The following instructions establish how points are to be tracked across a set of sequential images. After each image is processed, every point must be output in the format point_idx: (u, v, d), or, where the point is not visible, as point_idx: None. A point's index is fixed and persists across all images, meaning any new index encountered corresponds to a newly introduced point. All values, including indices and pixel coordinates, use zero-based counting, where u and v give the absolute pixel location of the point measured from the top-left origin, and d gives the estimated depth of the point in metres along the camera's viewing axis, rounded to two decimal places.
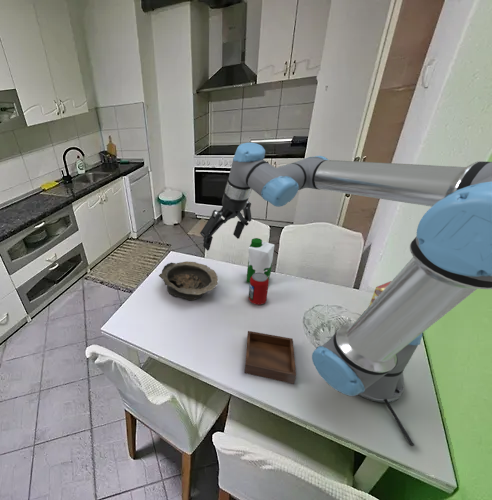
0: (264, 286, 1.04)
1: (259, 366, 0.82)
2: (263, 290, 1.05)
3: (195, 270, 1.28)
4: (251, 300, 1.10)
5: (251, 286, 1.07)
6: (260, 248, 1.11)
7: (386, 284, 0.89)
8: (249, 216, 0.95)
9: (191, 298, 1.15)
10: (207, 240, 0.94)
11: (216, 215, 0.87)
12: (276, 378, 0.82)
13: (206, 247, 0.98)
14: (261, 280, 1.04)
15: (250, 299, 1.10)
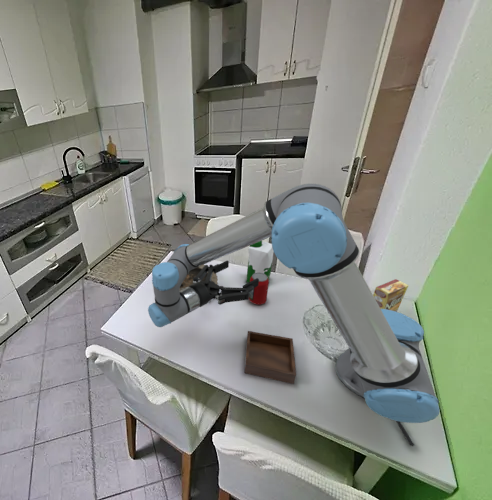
0: (264, 286, 1.04)
1: (259, 366, 0.82)
2: (263, 290, 1.05)
3: (195, 270, 1.28)
4: (251, 300, 1.10)
5: None
6: (260, 248, 1.11)
7: (386, 284, 0.89)
8: (203, 269, 0.99)
9: None
10: (249, 287, 0.88)
11: (221, 299, 0.85)
12: (276, 378, 0.82)
13: (256, 282, 0.90)
14: (261, 280, 1.04)
15: (250, 299, 1.10)
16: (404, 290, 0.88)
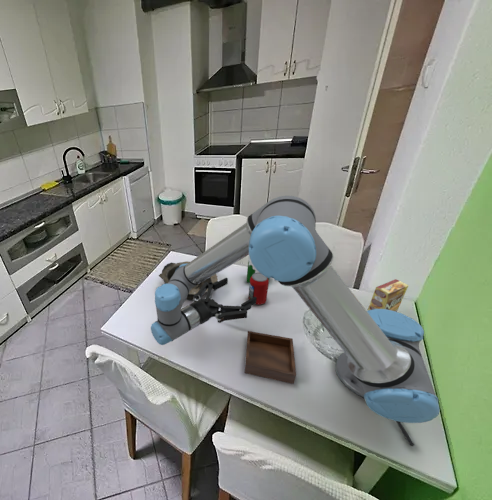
0: (264, 285, 1.04)
1: (259, 366, 0.82)
2: (263, 290, 1.05)
3: None
4: None
5: (251, 286, 1.07)
6: None
7: (386, 284, 0.89)
8: (203, 286, 1.03)
9: (191, 298, 1.15)
10: (247, 305, 0.92)
11: (220, 318, 0.89)
12: (276, 378, 0.82)
13: (254, 300, 0.94)
14: (261, 280, 1.04)
15: None
16: (404, 290, 0.88)
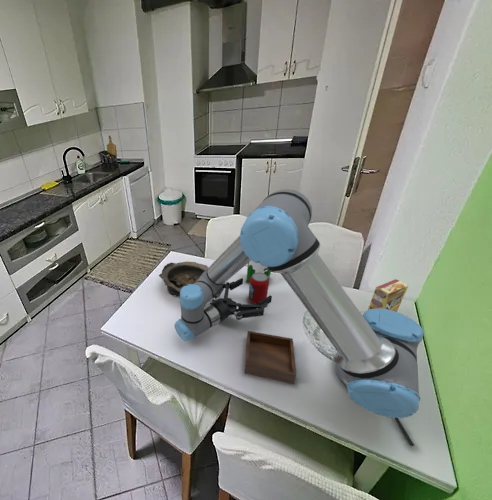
0: (264, 286, 1.04)
1: (259, 366, 0.82)
2: (263, 290, 1.05)
3: (195, 270, 1.28)
4: (251, 300, 1.10)
5: (251, 286, 1.07)
6: None
7: (386, 284, 0.89)
8: (221, 286, 1.09)
9: None
10: (263, 304, 0.99)
11: (239, 315, 0.96)
12: (276, 378, 0.82)
13: (270, 299, 1.01)
14: (261, 280, 1.04)
15: (250, 299, 1.10)
16: (404, 290, 0.88)
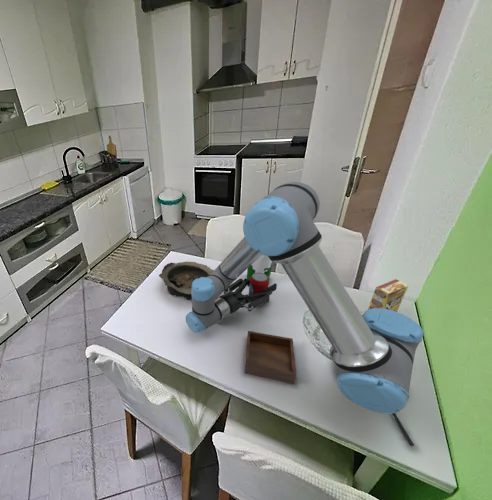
0: (264, 286, 1.04)
1: (259, 366, 0.82)
2: None
3: (195, 270, 1.28)
4: None
5: (251, 286, 1.07)
6: None
7: (386, 284, 0.89)
8: (237, 282, 1.10)
9: (191, 298, 1.15)
10: (269, 291, 1.04)
11: (251, 306, 0.99)
12: (276, 378, 0.82)
13: (275, 286, 1.06)
14: (261, 280, 1.04)
15: None
16: (404, 290, 0.88)
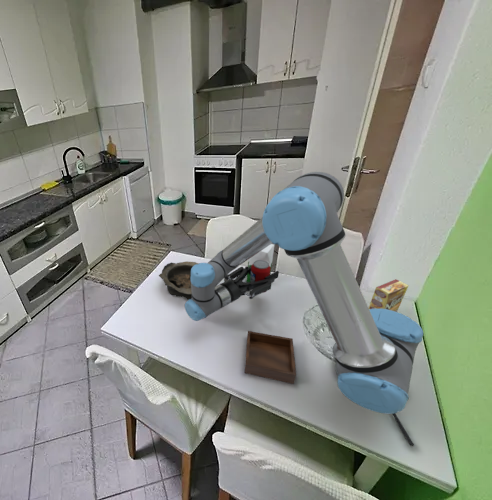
0: (265, 273, 1.01)
1: (259, 366, 0.82)
2: None
3: None
4: None
5: (252, 274, 1.04)
6: None
7: (386, 284, 0.89)
8: (237, 270, 1.07)
9: (191, 298, 1.15)
10: (271, 278, 1.01)
11: (253, 294, 0.96)
12: (276, 378, 0.82)
13: (277, 274, 1.03)
14: (263, 267, 1.01)
15: None
16: (404, 290, 0.88)
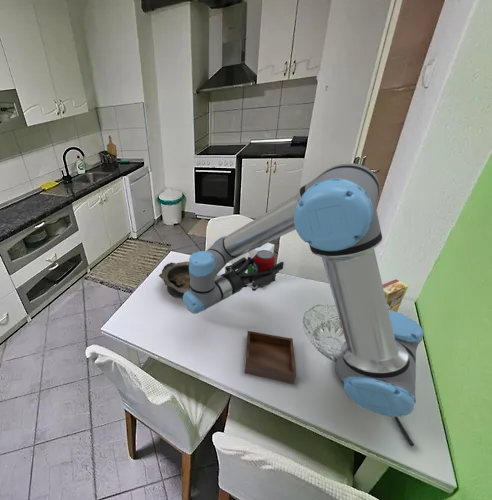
0: (269, 263, 0.94)
1: (259, 366, 0.82)
2: None
3: None
4: None
5: (255, 265, 0.97)
6: (260, 248, 1.11)
7: (386, 284, 0.89)
8: (239, 261, 1.01)
9: None
10: (275, 270, 0.95)
11: (256, 285, 0.89)
12: (276, 378, 0.82)
13: (281, 265, 0.97)
14: (266, 257, 0.94)
15: None
16: (404, 290, 0.88)
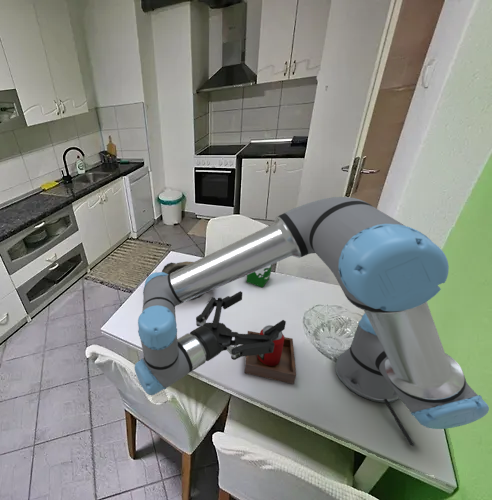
0: (278, 345, 0.80)
1: (259, 366, 0.82)
2: (277, 350, 0.81)
3: None
4: (261, 359, 0.86)
5: None
6: None
7: None
8: (210, 304, 0.75)
9: None
10: (273, 334, 0.65)
11: (236, 353, 0.61)
12: (276, 378, 0.82)
13: (282, 325, 0.67)
14: None
15: (260, 358, 0.86)
16: None
